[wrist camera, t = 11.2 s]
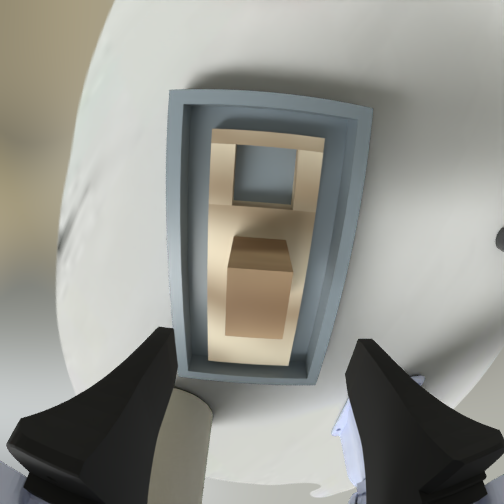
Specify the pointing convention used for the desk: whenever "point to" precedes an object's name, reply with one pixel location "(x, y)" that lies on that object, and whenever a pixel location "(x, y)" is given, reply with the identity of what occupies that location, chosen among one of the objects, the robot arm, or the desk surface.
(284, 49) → the desk surface
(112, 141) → the desk surface
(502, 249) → the knob
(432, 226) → the desk surface
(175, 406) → the travel mug
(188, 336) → the tray
